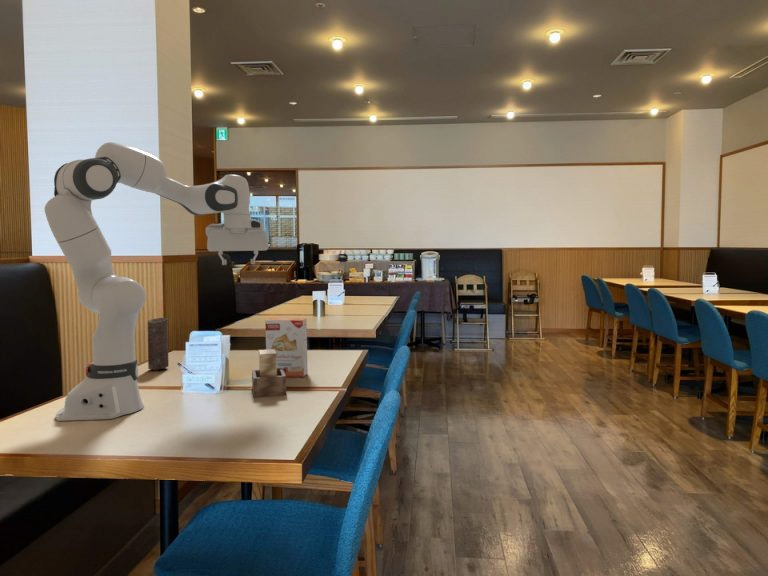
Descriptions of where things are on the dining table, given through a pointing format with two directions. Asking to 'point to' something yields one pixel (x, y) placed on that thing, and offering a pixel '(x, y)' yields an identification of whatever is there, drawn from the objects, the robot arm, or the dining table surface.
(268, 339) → the cracker box
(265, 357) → the oak block
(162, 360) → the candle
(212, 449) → the dining table surface
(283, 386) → the caddy
